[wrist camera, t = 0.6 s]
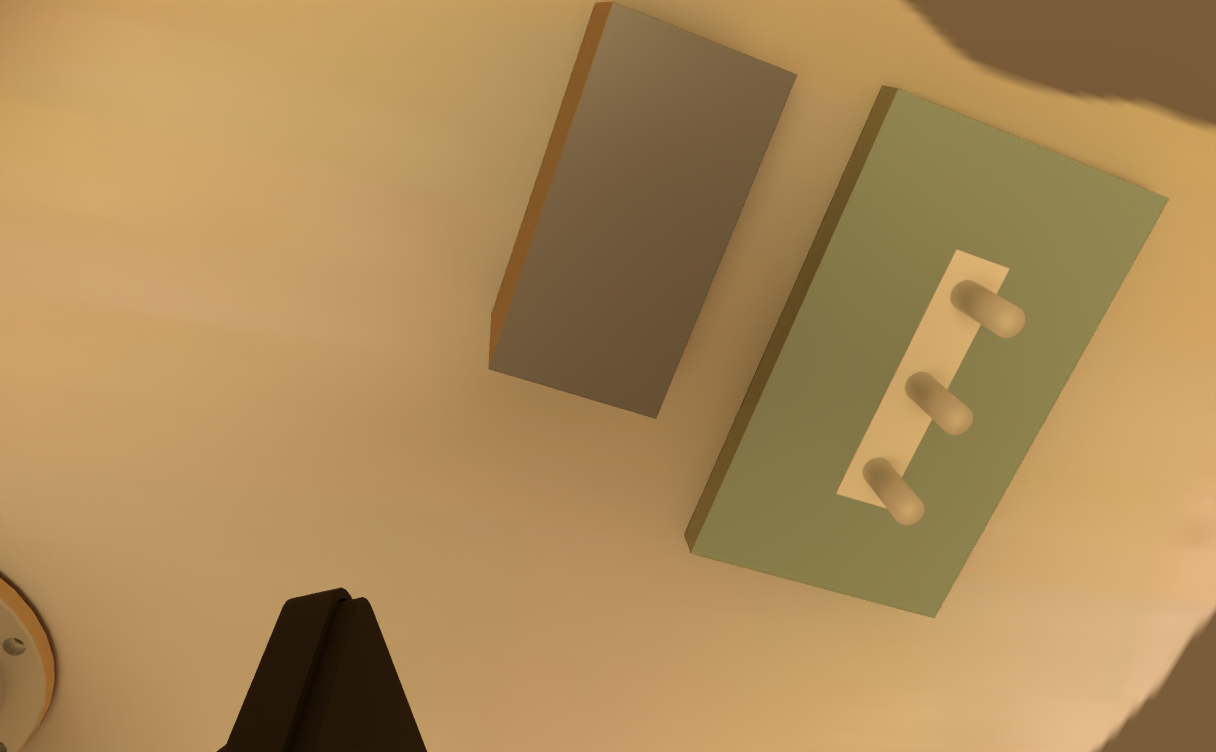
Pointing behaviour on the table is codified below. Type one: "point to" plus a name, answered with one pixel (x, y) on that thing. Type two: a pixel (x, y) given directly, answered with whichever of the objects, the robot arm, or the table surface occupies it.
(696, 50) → the plug housing
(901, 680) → the table surface
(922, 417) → the pin board
